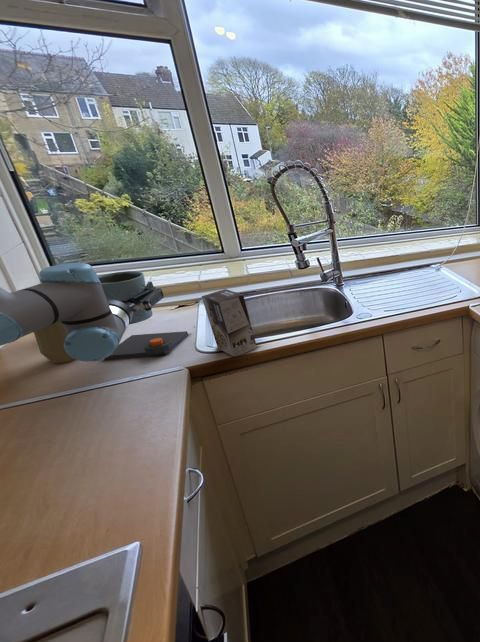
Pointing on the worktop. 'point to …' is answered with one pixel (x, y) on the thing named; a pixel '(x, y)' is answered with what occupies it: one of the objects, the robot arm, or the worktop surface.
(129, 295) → the grey-green plant pot
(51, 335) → the squeeze bottle
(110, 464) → the worktop surface
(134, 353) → the scale
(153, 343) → the tare button
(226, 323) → the coffee box
